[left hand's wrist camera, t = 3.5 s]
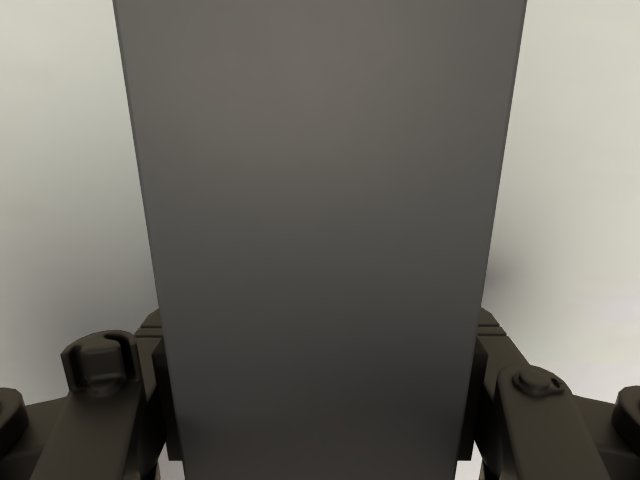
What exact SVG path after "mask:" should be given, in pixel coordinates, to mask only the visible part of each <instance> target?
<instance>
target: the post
mask: <svg viewBox="0 0 640 480" xmlns="http://www.w3.org/2000/svg"><path fill="white" fill-rule="evenodd" d="M526 4H527V0H113V7H114V14H115V20H116V27H117V33H118V40H119V47H120V53H121V60H122V66H123V73H124V80H125V86H126V93H127V99H128V106H129V113H130V119H131V126H132V132H133V139H134V146H135V152H136V159H137V165H138V172H139V179H140V185H141V192H142V198H143V205H144V211H145V218H146V225H147V231H148V238H149V244H150V251H151V258H152V264H153V271H154V277H155V284H156V291H157V297H158V304H159V310H160V317H161V324H162V330H163V337H164V343H165V350H166V357H167V363H168V370H169V376H170V383H171V390H172V396H173V403H174V409H175V416H176V423H177V429H178V436H179V442H180V449H181V455H182V462H183V469H184V475H185V480H455V473H456V467H457V460H458V454H459V447H460V440H461V434H462V427H463V421H464V414H465V407H466V401H467V394H468V388H469V381H470V374H471V368H472V361H473V354H474V348H475V341H476V335H477V328H478V321H479V315H480V308H481V302H482V295H483V288H484V282H485V275H486V269H487V262H488V255H489V249H490V242H491V236H492V229H493V222H494V216H495V209H496V203H497V196H498V189H499V183H500V176H501V170H502V163H503V156H504V150H505V143H506V137H507V130H508V123H509V117H510V110H511V104H512V97H513V90H514V84H515V77H516V71H517V64H518V57H519V51H520V44H521V38H522V31H523V24H524V18H525V11H526Z"/></svg>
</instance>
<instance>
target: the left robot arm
mask: <svg viewBox="0 0 640 480" xmlns="http://www.w3.org/2000/svg"><path fill="white" fill-rule="evenodd" d="M60 355H61V359H62V363H63V367H64V371H65V375H66V379H67V383H68V386H69V390H70V391H69V393H68V395H67V397H63V398H59V399H55V400H51V401H46V402H41V403H36V404H32V405H27V406H25V404H24V401H23V397H22V394H21V393H19V392H18V391H17V390H16V389H11V388H0V480H160V470H159V464H158V458H159V455H160V453H161V451H162V449H163V446H164V444H165V442H166V446H167V452H168V458H169V461H182V455H181V449H180V442H179V436H178V429H177V423H176V416H175V409H174V403H173V396H172V390H171V383H170V376H169V370H168V363H167V357H166V350H165V343H164V337H163V330H162V324H161V317H160V310H159V309H157V310H156V311H154V312H153V313H151V314H150V315H149V316H148V317H147V318H146V320H145V321H144V322H143V324H142V325H141V328H139V329H138V330H137V332H136V333H135V334H134V335H132V334H131V333H130V332H126V331H121V330H108V331H102V332H98V333H93V334H90V335H88V336H85V337H83V338H80V339H78V340H77V341H75V342H73V343H72V344H70V345H69V346H67V347H66V348H65V350H64V351H63V352H62V353H61V354H60ZM474 440H475V442H476V445H477V447H478V449H479V452H480V454H481V456H482V464H481V470H480V475H479V480H640V386H630V387H625V388H623V389H622V390H621V391H620V392H619V393H618V396H617V400H616V403H615V404H612V403H608V402H603V401H598V400H593V399H588V398H584V397H580V396H576V395H573V394H572V392H571V390H570V389H569V387H568V386H567V385H566V383H565V382H564V381H563V380H562V379H560V378H559V377H557V376H556V375H555V374H553V373H551V372H549V371H547V370H545V369H543V368H540V367H537V366H533V365H530V364H529V363H528V362H527V360H526V359H525V358H524V356H523V355H522V354H521V352H520V351H519V350H518V348H517V347H516V346H515V344H514V343H513V342H512V341H511V339H510V338H509V337H508V336H507V335H506V333H505V331H504V330H503V329H502V327H500V326H499V323H498V322H497V321H496V319H495V318H494V317H493V316H492V314H491V313H489V312H488V311H486V310H485V309H483V308H482V307H481V308H480V315H479V321H478V328H477V335H476V341H475V348H474V354H473V361H472V368H471V374H470V381H469V388H468V394H467V401H466V407H465V414H464V421H463V427H462V434H461V440H460V447H459V454H458V460H457V461H471V457H472V451H473V445H474Z"/></svg>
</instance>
